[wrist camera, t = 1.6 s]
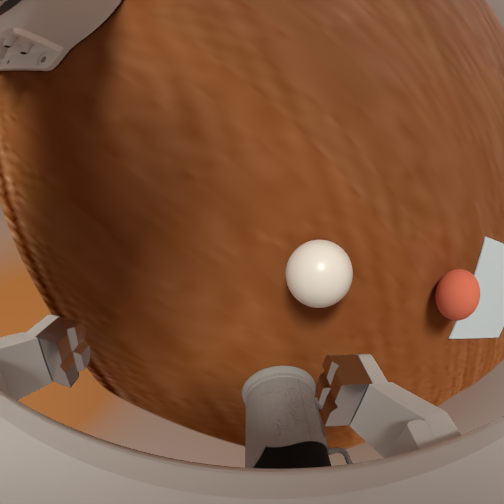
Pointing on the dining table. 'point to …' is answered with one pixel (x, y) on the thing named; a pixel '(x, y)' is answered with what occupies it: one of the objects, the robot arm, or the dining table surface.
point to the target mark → (486, 296)
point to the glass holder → (284, 421)
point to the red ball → (457, 294)
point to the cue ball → (319, 273)
